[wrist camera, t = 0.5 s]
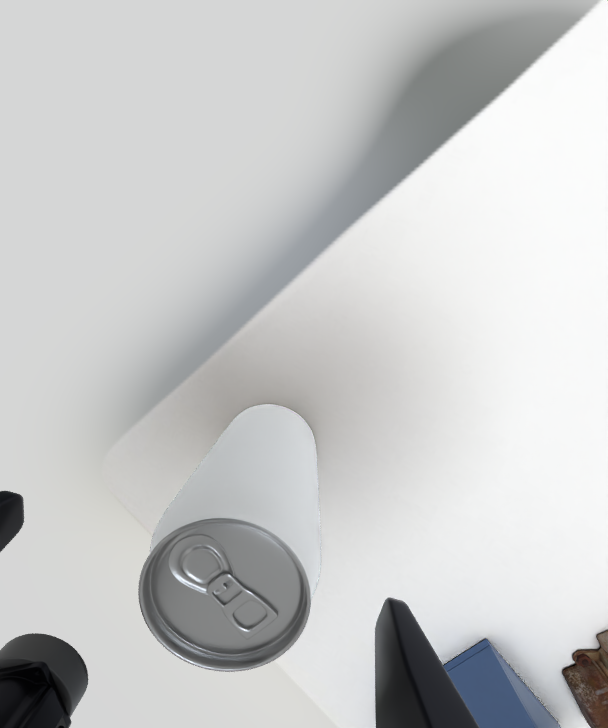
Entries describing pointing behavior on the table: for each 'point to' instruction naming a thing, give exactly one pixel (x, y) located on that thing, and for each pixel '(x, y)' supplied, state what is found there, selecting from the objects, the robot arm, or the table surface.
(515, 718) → the bin
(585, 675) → the telephone
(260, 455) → the can
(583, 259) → the table surface
